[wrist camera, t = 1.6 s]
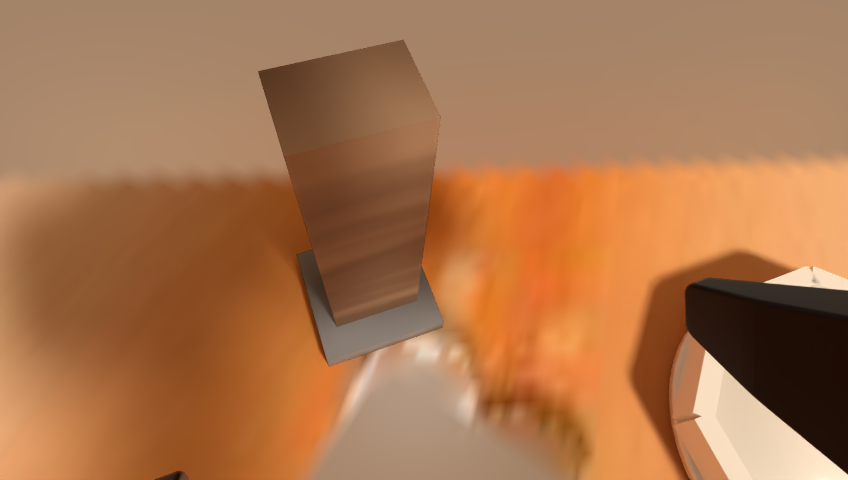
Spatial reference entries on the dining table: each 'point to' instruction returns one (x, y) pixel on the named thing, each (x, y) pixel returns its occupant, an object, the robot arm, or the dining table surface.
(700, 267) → the dining table surface
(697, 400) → the saucer
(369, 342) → the brown tall rectangular block
